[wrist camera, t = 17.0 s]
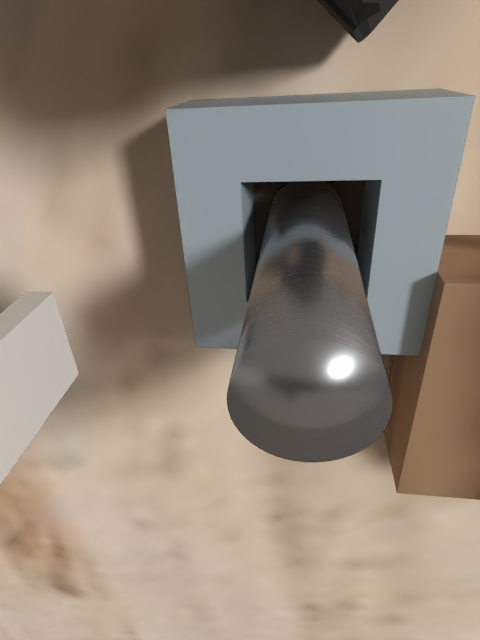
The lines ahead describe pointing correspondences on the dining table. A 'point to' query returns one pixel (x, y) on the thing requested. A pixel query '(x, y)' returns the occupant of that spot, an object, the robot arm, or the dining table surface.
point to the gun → (358, 14)
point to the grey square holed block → (319, 165)
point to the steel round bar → (308, 337)
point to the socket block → (441, 386)
